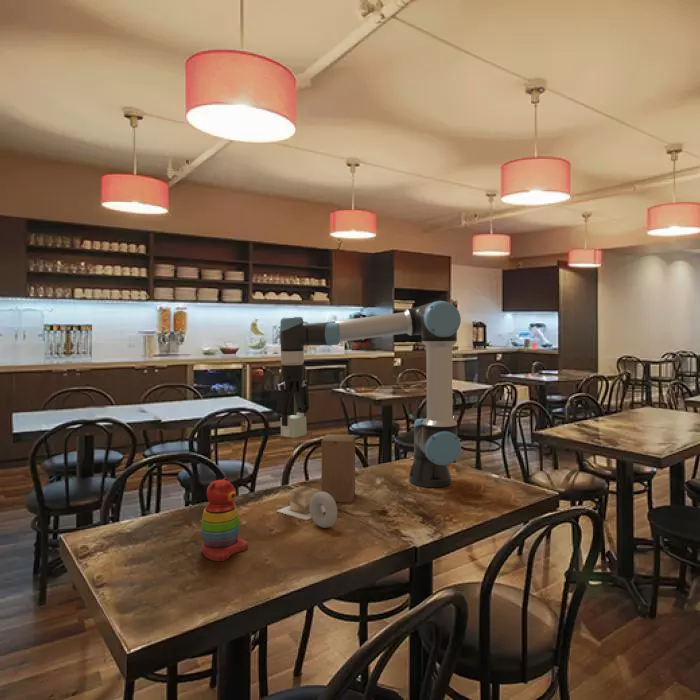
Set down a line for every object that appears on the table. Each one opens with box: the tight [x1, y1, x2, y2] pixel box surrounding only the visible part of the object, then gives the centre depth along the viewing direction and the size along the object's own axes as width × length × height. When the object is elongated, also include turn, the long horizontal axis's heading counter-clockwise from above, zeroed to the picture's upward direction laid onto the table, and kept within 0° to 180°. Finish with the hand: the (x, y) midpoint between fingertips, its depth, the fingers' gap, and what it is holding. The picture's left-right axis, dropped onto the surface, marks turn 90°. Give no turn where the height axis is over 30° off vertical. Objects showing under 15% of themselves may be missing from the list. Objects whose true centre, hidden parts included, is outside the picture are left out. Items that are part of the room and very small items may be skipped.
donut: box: [310, 490, 339, 529], centre depth 146 cm, size 10×4×10 cm, turn 46°
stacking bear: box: [200, 477, 249, 562], centre depth 131 cm, size 11×10×18 cm
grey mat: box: [276, 504, 326, 521], centre depth 160 cm, size 12×12×1 cm
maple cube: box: [289, 485, 319, 514], centre depth 159 cm, size 6×6×6 cm
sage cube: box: [280, 414, 308, 439], centre depth 172 cm, size 6×6×6 cm
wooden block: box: [320, 433, 356, 504], centre depth 171 cm, size 10×10×20 cm
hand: (293, 433), depth 172 cm, fingers closed on sage cube, 6 cm apart
